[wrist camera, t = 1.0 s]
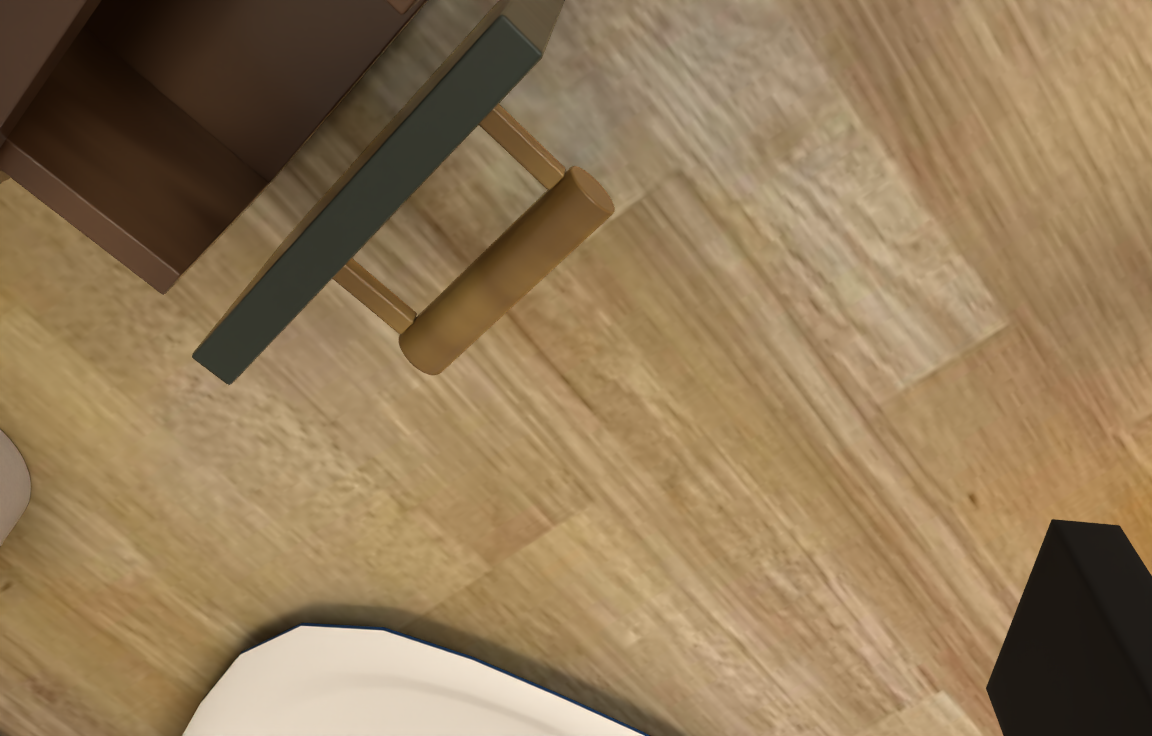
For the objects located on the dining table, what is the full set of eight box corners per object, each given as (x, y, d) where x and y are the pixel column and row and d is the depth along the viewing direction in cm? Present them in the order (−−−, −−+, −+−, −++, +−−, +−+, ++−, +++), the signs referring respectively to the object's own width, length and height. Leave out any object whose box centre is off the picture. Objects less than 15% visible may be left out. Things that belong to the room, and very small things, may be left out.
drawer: (677, 100, 29) (686, 197, 22) (420, 345, 33) (362, 488, 27) (187, -411, 24) (-2, -492, 17) (-38, -37, 28) (-258, 19, 21)
